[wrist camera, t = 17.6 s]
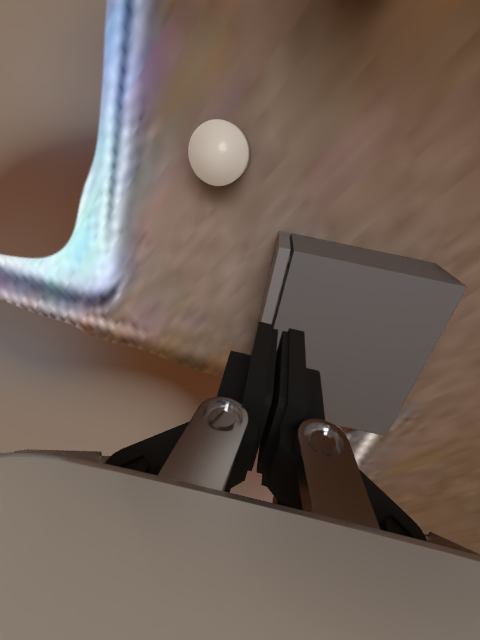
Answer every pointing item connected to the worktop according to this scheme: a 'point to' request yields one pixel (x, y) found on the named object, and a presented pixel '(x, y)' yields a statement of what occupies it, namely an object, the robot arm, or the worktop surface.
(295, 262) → the block
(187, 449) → the robot arm
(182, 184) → the worktop surface
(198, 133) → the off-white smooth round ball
